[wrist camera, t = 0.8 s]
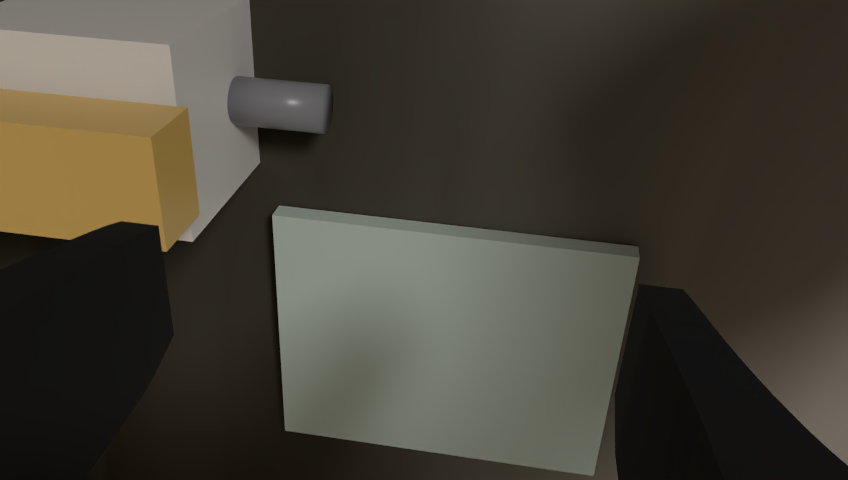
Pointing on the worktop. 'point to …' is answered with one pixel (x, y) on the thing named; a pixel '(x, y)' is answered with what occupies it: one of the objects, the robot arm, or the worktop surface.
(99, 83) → the plug
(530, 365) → the mat
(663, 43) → the worktop surface
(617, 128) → the worktop surface
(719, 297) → the worktop surface
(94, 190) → the mustard yellow beam
